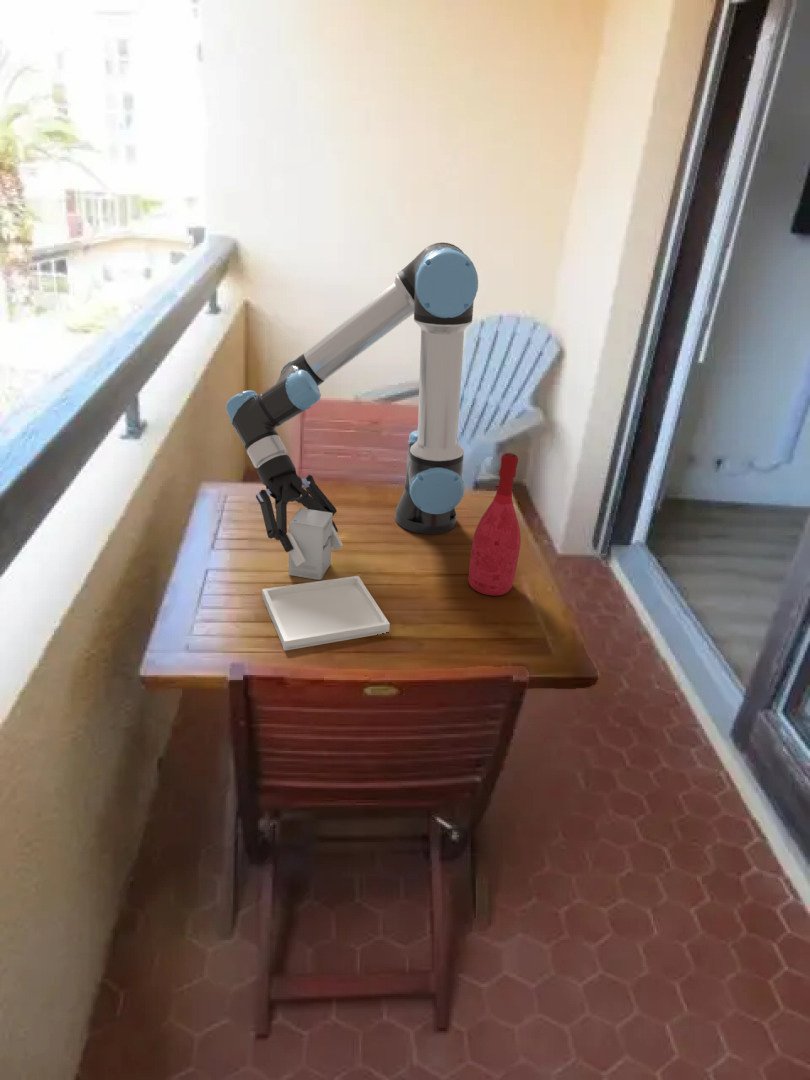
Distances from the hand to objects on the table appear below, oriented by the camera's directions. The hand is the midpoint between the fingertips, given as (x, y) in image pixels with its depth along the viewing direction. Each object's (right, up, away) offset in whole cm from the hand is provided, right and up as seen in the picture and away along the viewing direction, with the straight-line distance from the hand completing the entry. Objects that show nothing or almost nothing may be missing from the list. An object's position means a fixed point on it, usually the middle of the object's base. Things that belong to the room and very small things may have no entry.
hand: (320, 555), depth 149 cm
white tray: (+2, -11, -10) cm, 15 cm away
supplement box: (-3, -3, +4) cm, 6 cm away
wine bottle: (+36, -7, +4) cm, 37 cm away
